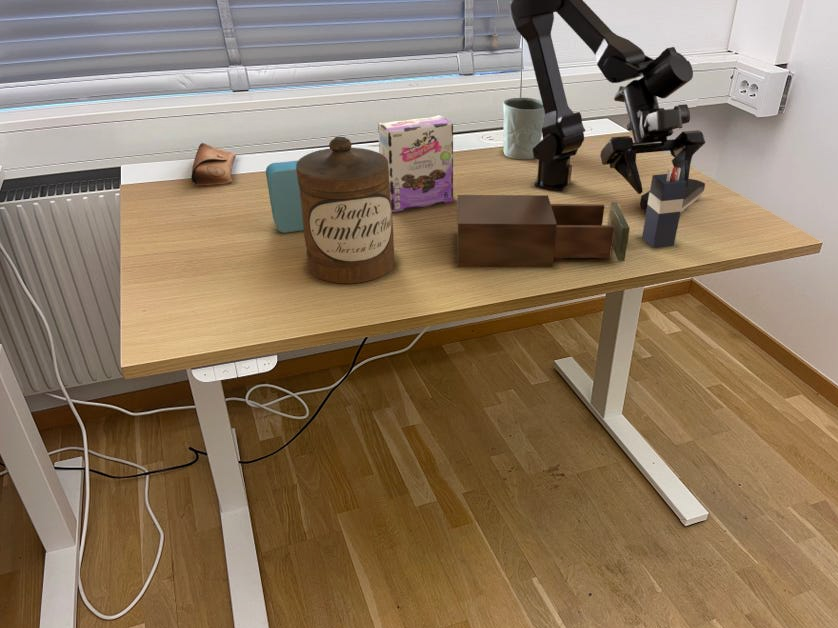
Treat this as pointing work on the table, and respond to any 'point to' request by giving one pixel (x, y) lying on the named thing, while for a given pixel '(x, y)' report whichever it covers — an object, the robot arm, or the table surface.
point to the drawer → (589, 231)
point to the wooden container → (346, 212)
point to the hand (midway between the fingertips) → (663, 190)
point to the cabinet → (505, 231)
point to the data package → (285, 196)
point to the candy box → (418, 161)
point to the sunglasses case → (212, 166)
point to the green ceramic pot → (522, 126)
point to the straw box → (664, 209)
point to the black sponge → (690, 194)
